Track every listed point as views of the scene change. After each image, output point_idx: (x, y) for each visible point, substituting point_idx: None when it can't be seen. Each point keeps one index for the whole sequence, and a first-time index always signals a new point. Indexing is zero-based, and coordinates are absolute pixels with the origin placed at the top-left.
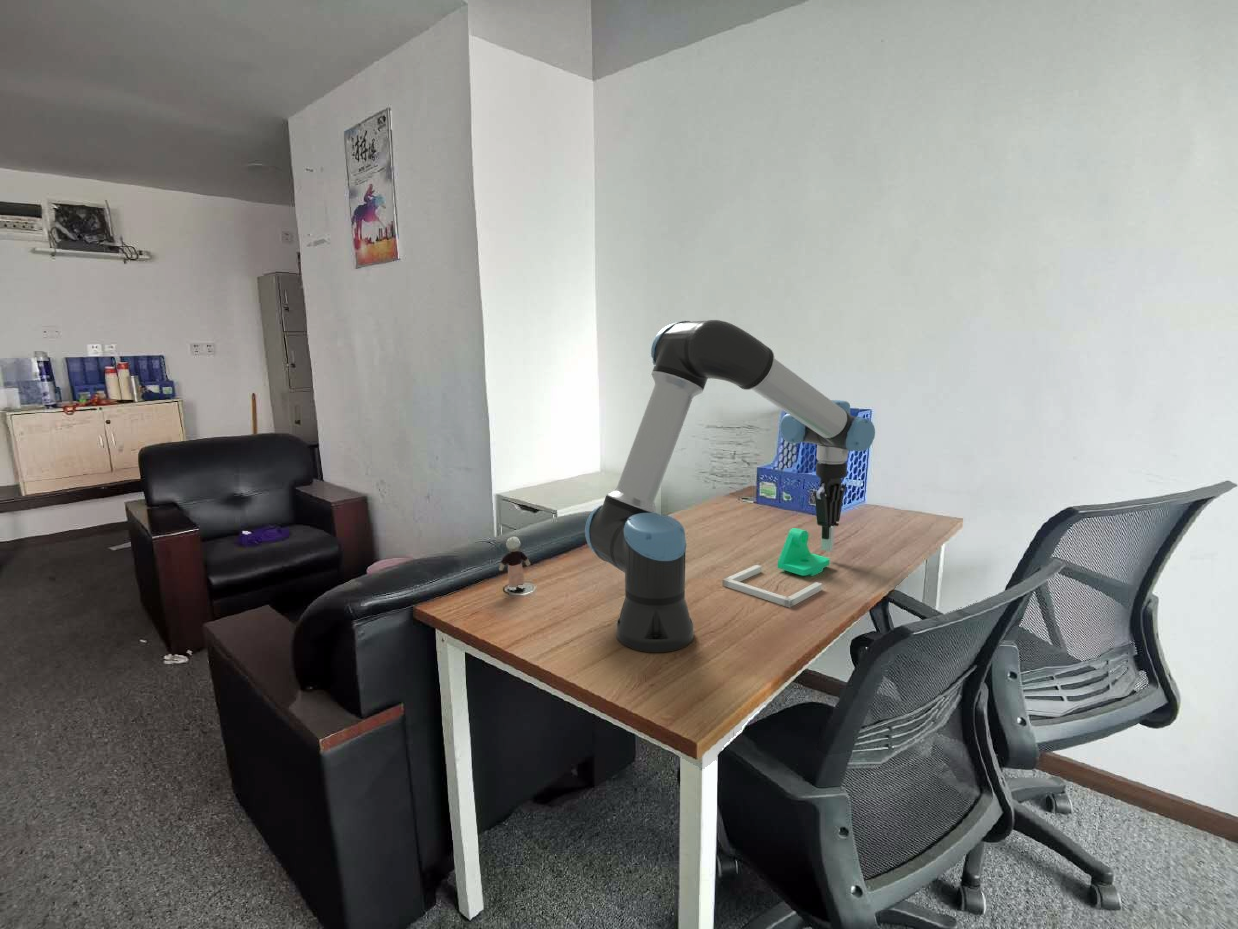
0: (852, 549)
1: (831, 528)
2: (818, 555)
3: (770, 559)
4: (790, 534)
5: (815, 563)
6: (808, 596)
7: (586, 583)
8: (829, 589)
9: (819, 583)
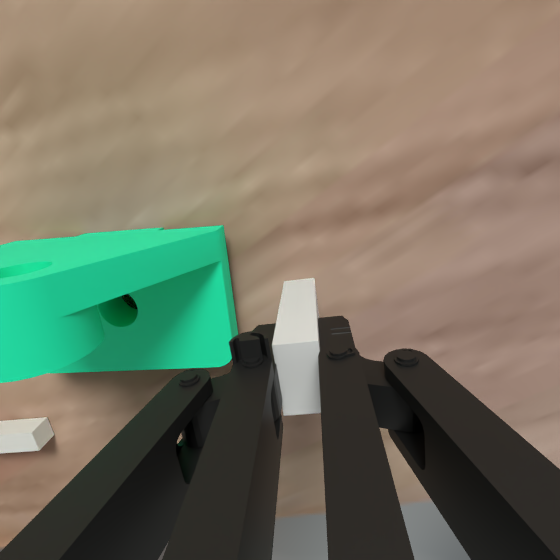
0: (549, 269)
1: (283, 410)
2: (223, 308)
3: (97, 107)
4: None
5: (131, 358)
6: None
7: None
8: (79, 444)
9: (32, 444)
